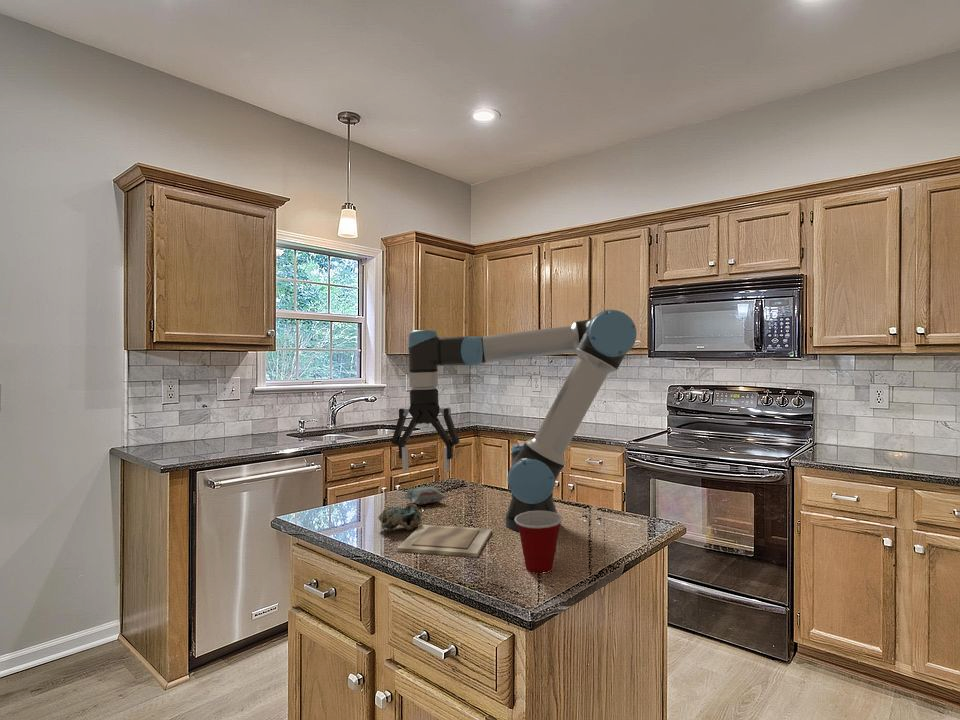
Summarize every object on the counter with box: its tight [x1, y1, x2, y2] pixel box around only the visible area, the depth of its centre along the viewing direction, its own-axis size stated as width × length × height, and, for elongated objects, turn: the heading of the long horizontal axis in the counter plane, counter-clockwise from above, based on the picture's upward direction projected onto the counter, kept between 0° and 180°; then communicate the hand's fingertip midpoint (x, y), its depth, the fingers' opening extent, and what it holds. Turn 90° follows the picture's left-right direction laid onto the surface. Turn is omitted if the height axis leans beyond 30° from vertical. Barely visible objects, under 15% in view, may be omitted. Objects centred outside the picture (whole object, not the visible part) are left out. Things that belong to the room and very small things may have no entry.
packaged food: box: [404, 486, 448, 506], centre depth 187 cm, size 9×12×5 cm
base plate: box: [396, 524, 493, 558], centre depth 149 cm, size 20×20×1 cm
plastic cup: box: [514, 511, 563, 574], centre depth 129 cm, size 11×11×12 cm
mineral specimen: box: [377, 503, 423, 531], centre depth 159 cm, size 12×9×8 cm
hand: (426, 471), depth 153 cm, fingers open, 11 cm apart
